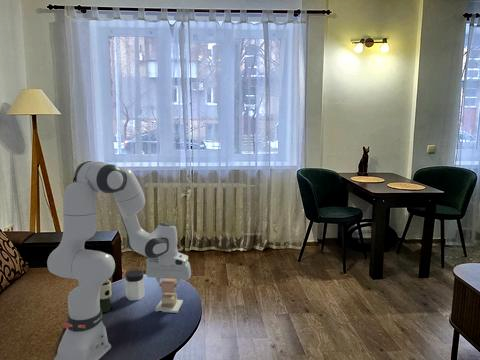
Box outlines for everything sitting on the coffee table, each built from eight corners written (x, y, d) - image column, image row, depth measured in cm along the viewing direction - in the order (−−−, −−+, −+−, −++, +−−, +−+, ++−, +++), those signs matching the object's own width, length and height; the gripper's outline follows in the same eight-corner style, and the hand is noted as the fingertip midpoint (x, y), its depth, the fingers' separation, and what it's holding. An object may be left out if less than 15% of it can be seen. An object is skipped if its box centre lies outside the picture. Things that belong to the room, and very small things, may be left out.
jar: (147, 298, 195) (146, 274, 193) (130, 302, 190) (129, 278, 188) (140, 290, 202) (139, 268, 200) (123, 295, 198) (122, 271, 195)
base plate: (177, 312, 181) (177, 310, 181) (155, 311, 183) (155, 309, 183) (183, 302, 191) (182, 300, 191) (162, 300, 192) (162, 298, 192)
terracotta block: (173, 293, 183) (173, 283, 182) (161, 292, 183) (161, 283, 182) (176, 287, 188) (176, 278, 187) (164, 287, 188) (164, 278, 188)
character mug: (105, 317, 178) (103, 289, 175) (90, 315, 179) (88, 287, 176) (117, 304, 188) (115, 278, 186) (103, 303, 190) (101, 277, 187)
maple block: (173, 307, 184) (173, 298, 183) (161, 307, 185) (161, 297, 184) (177, 302, 189) (176, 293, 188) (165, 301, 190) (165, 292, 189)
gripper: (143, 259, 181) (144, 288, 183) (188, 261, 178) (188, 291, 181) (147, 254, 187) (149, 282, 190) (191, 256, 184) (192, 284, 187)
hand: (168, 286), depth 185 cm, fingers closed on terracotta block, 6 cm apart
